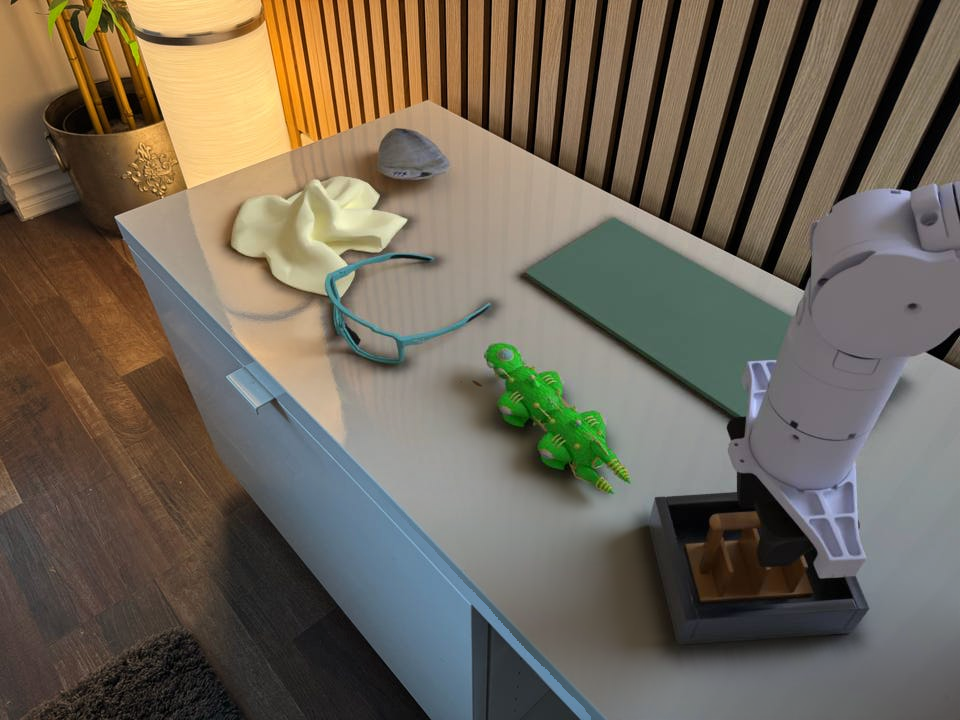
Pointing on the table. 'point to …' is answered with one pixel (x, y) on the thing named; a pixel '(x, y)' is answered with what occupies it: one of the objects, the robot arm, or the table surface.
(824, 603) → the open box
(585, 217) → the table surface
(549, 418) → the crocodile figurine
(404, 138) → the seashell
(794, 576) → the dish rack
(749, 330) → the drying mat
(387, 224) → the cloth
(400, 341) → the sunglasses
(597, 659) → the table surface
